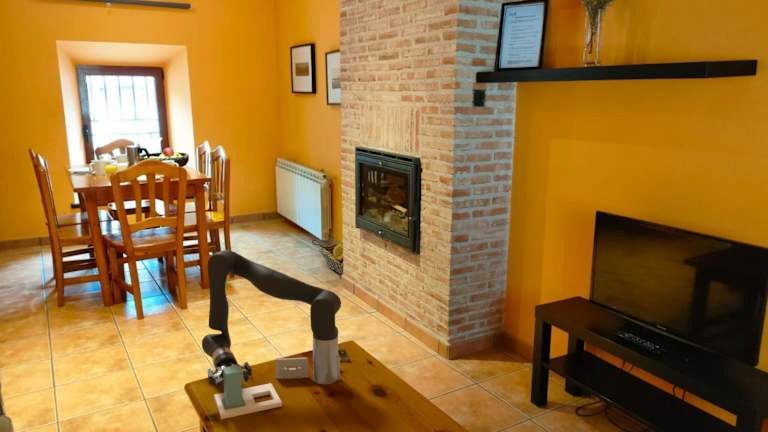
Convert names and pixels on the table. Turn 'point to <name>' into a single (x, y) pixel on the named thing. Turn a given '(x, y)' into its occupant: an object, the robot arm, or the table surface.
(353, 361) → the table surface
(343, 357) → the seal
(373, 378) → the table surface
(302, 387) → the table surface
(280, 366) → the cassette
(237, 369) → the teal block
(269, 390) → the puzzle board
